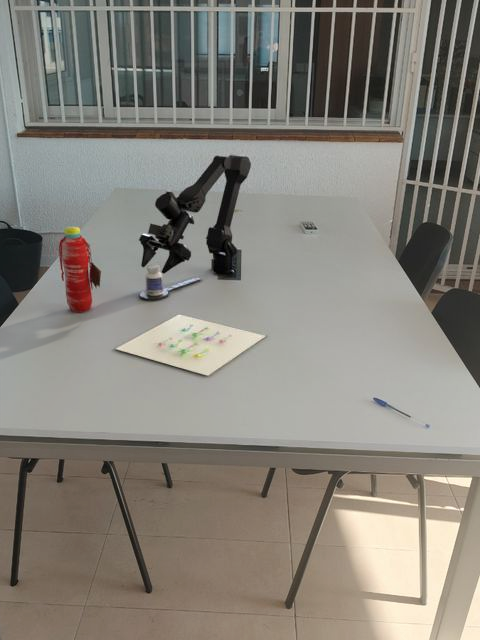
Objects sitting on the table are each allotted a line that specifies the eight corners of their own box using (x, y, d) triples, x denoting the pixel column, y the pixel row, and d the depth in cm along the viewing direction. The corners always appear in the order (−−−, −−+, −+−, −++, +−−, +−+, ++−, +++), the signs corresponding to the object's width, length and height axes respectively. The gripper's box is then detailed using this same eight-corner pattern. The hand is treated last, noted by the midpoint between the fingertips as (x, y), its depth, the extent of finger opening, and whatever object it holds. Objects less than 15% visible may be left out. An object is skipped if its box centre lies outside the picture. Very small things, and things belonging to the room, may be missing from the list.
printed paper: (207, 376, 176) (207, 371, 176) (115, 350, 190) (114, 345, 189) (265, 337, 198) (266, 332, 198) (179, 315, 212) (178, 310, 211)
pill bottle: (165, 294, 225) (164, 267, 221) (150, 297, 223) (149, 270, 219) (158, 289, 229) (157, 263, 225) (143, 292, 227) (142, 265, 223)
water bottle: (105, 304, 220) (99, 223, 207) (104, 313, 213) (96, 230, 200) (66, 304, 219) (57, 224, 206) (63, 314, 212) (54, 231, 199)
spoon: (190, 277, 243) (190, 275, 242) (207, 282, 238) (207, 280, 238) (134, 296, 226) (134, 294, 225) (152, 302, 221) (151, 300, 221)
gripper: (141, 208, 222) (117, 250, 220) (184, 218, 212) (159, 262, 210) (160, 228, 231) (137, 268, 230) (201, 238, 221) (178, 281, 219)
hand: (152, 269), depth 222 cm, fingers open, 9 cm apart
